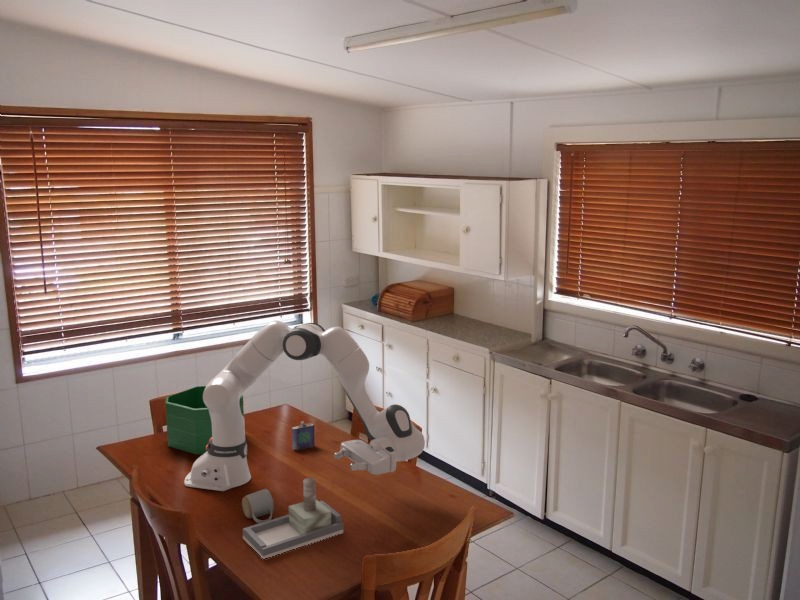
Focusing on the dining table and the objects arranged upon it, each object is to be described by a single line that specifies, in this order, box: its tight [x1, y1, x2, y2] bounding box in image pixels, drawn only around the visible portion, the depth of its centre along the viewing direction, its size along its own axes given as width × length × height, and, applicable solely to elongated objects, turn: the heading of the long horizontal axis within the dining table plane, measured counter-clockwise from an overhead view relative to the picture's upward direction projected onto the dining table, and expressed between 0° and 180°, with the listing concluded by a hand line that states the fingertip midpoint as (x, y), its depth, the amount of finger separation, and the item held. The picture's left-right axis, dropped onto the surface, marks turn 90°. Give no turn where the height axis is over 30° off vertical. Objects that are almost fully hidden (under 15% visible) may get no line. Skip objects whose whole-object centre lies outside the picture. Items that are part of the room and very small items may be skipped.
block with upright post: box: [288, 477, 331, 534], centre depth 209 cm, size 9×10×15 cm
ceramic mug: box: [241, 488, 275, 524], centre depth 218 cm, size 11×8×8 cm
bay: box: [242, 500, 344, 560], centre depth 207 cm, size 26×14×5 cm, turn 126°
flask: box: [291, 420, 315, 451], centre depth 272 cm, size 9×3×11 cm, turn 121°
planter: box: [164, 385, 245, 455], centre depth 278 cm, size 26×26×18 cm
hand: (343, 461), depth 214 cm, fingers open, 8 cm apart
